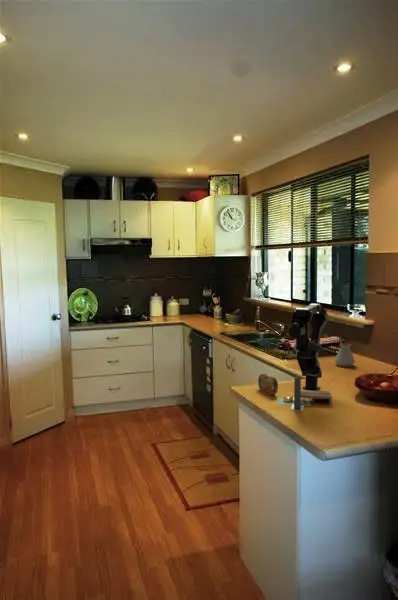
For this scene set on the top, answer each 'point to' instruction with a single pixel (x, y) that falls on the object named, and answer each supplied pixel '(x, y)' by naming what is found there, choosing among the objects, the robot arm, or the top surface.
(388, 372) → the top surface
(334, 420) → the top surface
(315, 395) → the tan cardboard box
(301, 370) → the robot arm
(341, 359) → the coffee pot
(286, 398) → the token
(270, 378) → the tin
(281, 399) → the mat
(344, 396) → the top surface
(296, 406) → the grey l-shaped block
